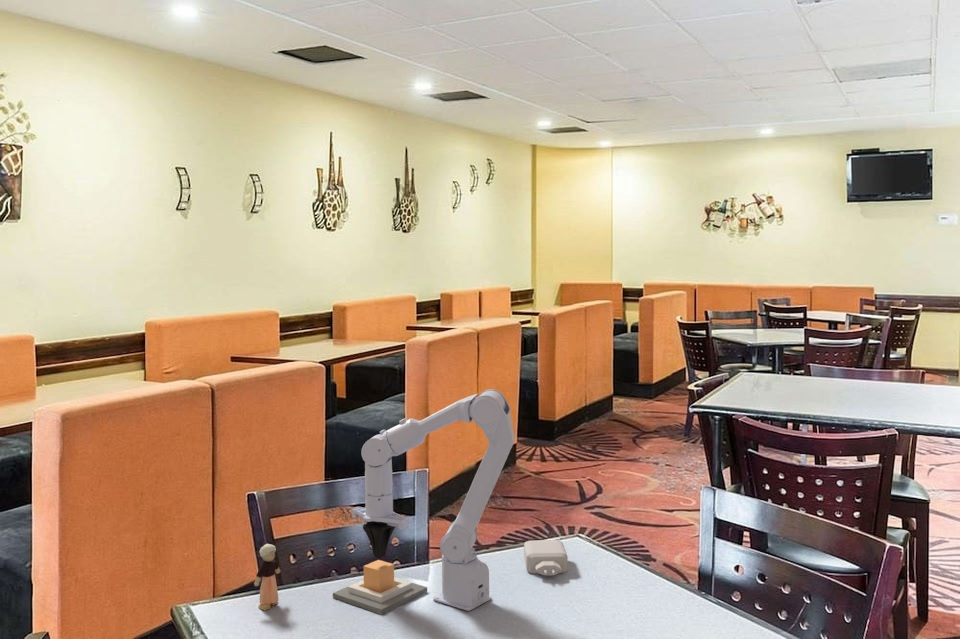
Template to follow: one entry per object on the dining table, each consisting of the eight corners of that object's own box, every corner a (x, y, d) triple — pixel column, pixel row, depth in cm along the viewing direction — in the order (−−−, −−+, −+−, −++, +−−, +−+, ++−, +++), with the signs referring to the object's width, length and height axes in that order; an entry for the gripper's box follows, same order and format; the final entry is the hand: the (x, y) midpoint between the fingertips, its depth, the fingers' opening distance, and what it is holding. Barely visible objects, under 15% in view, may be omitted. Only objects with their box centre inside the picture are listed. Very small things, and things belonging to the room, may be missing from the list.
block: (394, 589, 169) (393, 564, 169) (379, 596, 165) (379, 570, 165) (378, 584, 172) (378, 559, 171) (363, 591, 168) (363, 566, 168)
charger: (528, 584, 174) (524, 560, 189) (571, 584, 175) (563, 559, 190) (528, 563, 174) (524, 540, 189) (571, 562, 174) (563, 539, 189)
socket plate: (427, 591, 170) (427, 581, 170) (381, 614, 159) (381, 603, 159) (379, 577, 179) (379, 567, 178) (332, 597, 167) (332, 587, 167)
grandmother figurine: (269, 613, 160) (268, 550, 159) (251, 611, 161) (250, 549, 160) (286, 597, 168) (285, 538, 167) (269, 596, 168) (268, 537, 168)
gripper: (340, 491, 169) (341, 554, 169) (391, 502, 160) (392, 569, 161) (364, 484, 174) (365, 545, 175) (414, 495, 166) (415, 559, 166)
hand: (379, 556), depth 168 cm, fingers closed
